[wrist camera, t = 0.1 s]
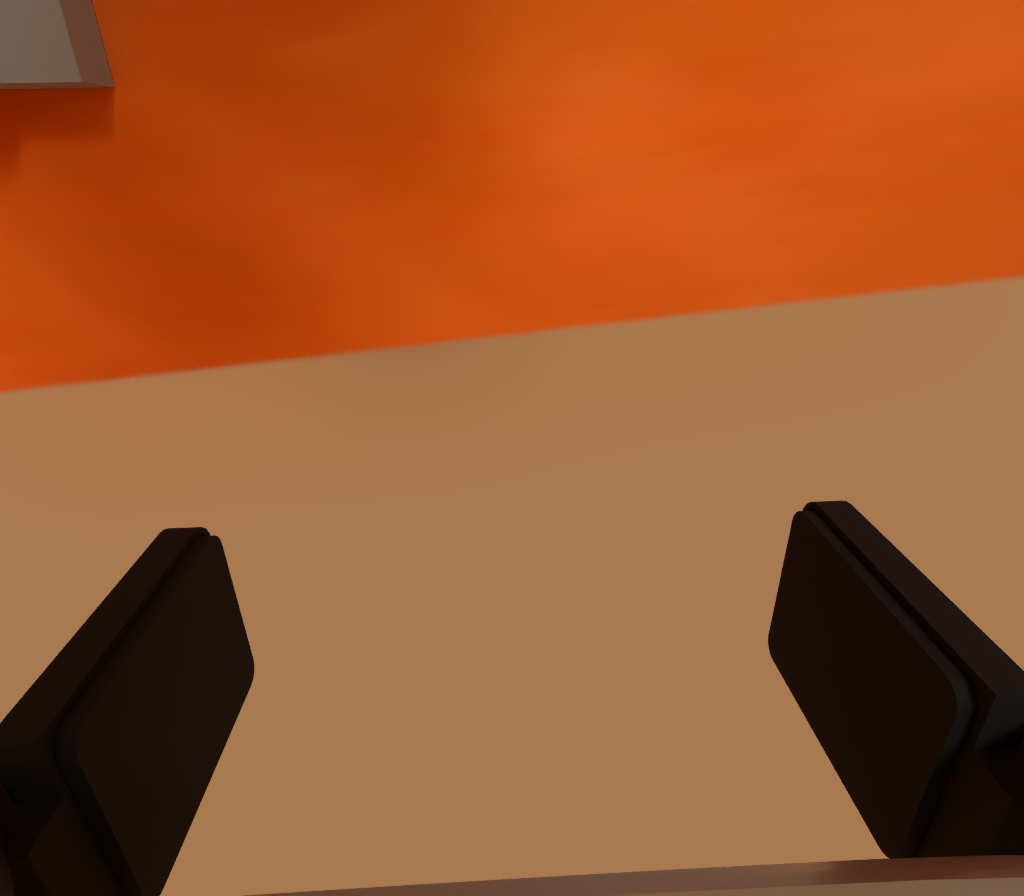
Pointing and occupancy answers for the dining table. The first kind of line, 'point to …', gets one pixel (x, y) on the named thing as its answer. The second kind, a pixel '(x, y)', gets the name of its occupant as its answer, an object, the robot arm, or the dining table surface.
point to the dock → (51, 45)
